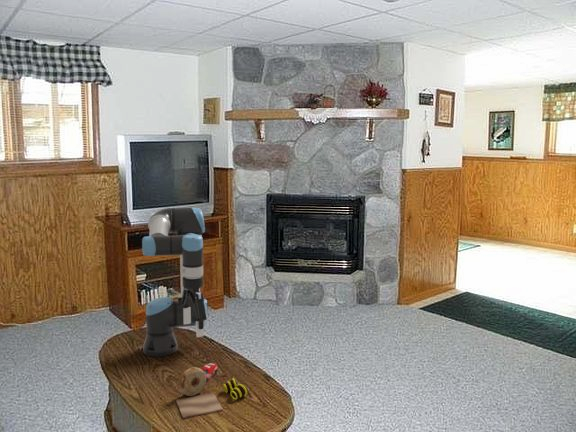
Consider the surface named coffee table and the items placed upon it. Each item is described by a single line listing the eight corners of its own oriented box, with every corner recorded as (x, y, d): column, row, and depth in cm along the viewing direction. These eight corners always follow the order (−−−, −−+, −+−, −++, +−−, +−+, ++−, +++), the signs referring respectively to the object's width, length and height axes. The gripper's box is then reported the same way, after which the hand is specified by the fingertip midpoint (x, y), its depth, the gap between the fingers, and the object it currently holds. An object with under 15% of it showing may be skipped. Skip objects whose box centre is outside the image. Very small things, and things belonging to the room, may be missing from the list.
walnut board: (176, 401, 178) (176, 400, 178) (213, 394, 184) (213, 392, 184) (182, 418, 167) (182, 417, 167) (222, 410, 173) (222, 408, 173)
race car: (204, 385, 191) (204, 376, 190) (192, 383, 192) (192, 373, 192) (220, 370, 203) (220, 361, 202) (208, 368, 205) (208, 359, 204)
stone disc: (182, 400, 179) (182, 374, 178) (178, 396, 182) (177, 370, 180) (208, 391, 185) (207, 367, 184) (203, 388, 188) (203, 363, 187)
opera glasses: (223, 392, 187) (220, 381, 186) (234, 386, 190) (232, 375, 188) (236, 403, 179) (233, 392, 178) (248, 397, 182) (246, 385, 181)
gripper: (172, 269, 191) (173, 320, 195) (195, 287, 170) (196, 344, 174) (190, 266, 195) (191, 317, 199) (215, 284, 174) (215, 340, 178)
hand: (193, 330), depth 186 cm, fingers open, 13 cm apart
